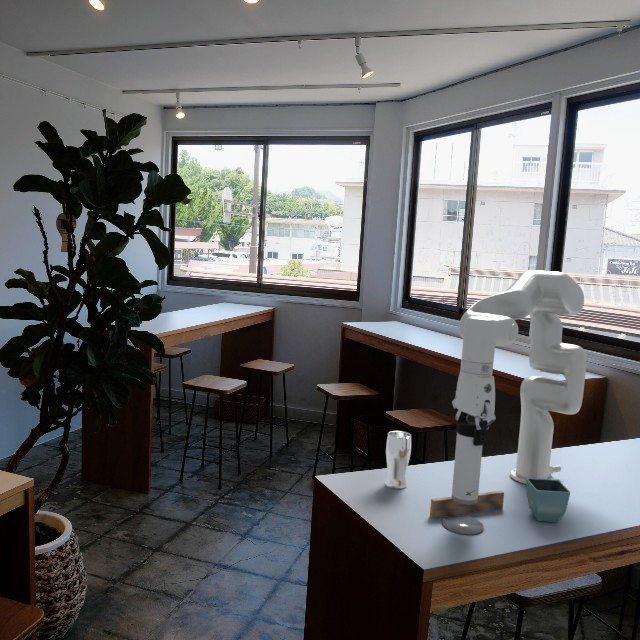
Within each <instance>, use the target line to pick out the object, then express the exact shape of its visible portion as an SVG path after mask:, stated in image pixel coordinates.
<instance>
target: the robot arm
mask: <svg viewBox="0 0 640 640" xmlns="http://www.w3.org/2000/svg"><path fill="white" fill-rule="evenodd" d="M584 304H585V294H584V291H583V289H582V288H581V286H580V285H579V284H578V282H577V281H576V280H574V278H572V276H570V275H568V274H566V273H565V272H560V271H549V270H547V271H546V270H534V269H533V270H532V269H531V270H527V271H524V272H523V273H522V274H520V275H519V276H518V277H517V278H516V279H515V280H514V281H513V283H511V285H510V286H509V287H508V288H507V289H506V291H504V292H499V293H496V294H492V295H490V296H488V297H487V296H486V297H484V298H482V299H479V300H478V301H475V302H474V303H473V304H471V306H470V307H468V309H467V310H465V312H464V313H463V314H462V316H461V318H460V320H459V323H458V333H459V335H460V337H461V338H462V348H461V358H460V359H461V360H460V371H459V375H458V377H457V383H456V391H455V396H454V399H453V400H452V401H451V404H452V406H453V409H454V413H455V420H456V426H455V427H456V428H455V437H457V430H458V423H460V422H461V421H467V420H468V418H469V416H471V417H473V418H474V420H475V422H476V428H477V429H475V430H474V440H473V445H475V446H480V445H483V446H485V445H486V444H487V443H486V442H487V432H488V430H489V428H490V426H491V425H492V423H494V422H495V420H496V415H495V411H496V410H495V406H496V384H495V376H493V371H494V361H495V351H496V350H495V349H496V347H508V346H511V345H512V344H513V343H514V342H515V341H516V340H517V338H518V335H519V325H518V323H517V321H516V320H522V319H524V318H526V317H527V316H529V317H530V321H531V334H530V335H531V337H530V347H529V356H528V361H529V367H530V368H531V369H532V370H533V371H536V372H538V373H539V372H540V373H543V374H548V375H555V376H562V377H563V378H565V380H563V379H558V378H557V379H556V378H552V377H547V376H540V375H531V376H528V377H525V378H524V379H523V380H522V382H521V384H520V387H519V388H520V392H519V393H520V405H521V407H520V408H521V410H520V411H521V412H520V424H519V425H520V426H519V435H518V445H517V453H516V454H517V455H516V465H515V468H513V469H511V470H510V471H509V472H510V474H509V475H510V477H511V478H512V480H514V481H517V482H519V483H521V484H524V485H525V484H526V478H531V479H547V480H555V479H554V477H553V475H552V474H553V473H560V472H561V471H562V467H561V466H560V465H552V464H551V456H552V447H553V446H552V445H553V436H554V428H555V425H554V424H555V423H554V420H553V418H552V416H551V414H550V412H555V413H559V414H563V415H576V414H577V413H579V411H580V410H581V407H582V403H583V398H584V391H585V381H586V373H587V354H586V351H585V349H584V348H583V347H582V346H580V345H577V344H571V343H564V342H563V341H562V340H563V339H562V338H563V328H564V327H563V323H562V320H561V318H560V316H559V315H564V316H575V315H579V313H580V312H581V311H582V309H583V307H584V306H585V305H584ZM481 420H482V423H481V422H480V421H481Z"/></svg>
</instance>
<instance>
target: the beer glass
mask: <svg viewBox="0 0 640 640" xmlns="http://www.w3.org/2000/svg"><path fill="white" fill-rule="evenodd" d="M411 452H412V434H410V433H409V432H407V431H402V430H393V431H389V432H387V439H386V448H385V456H386V457H385V458H386V468H387V471H386V472H387V473H386V474H387V475H386V477H385V478H386V479H385V482H384V484H385V486H386V487H387V488H389V489H394V490H403V489H405V488H407V477H406V475H407V470H408V465H409V461H410V457H411Z"/></svg>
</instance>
